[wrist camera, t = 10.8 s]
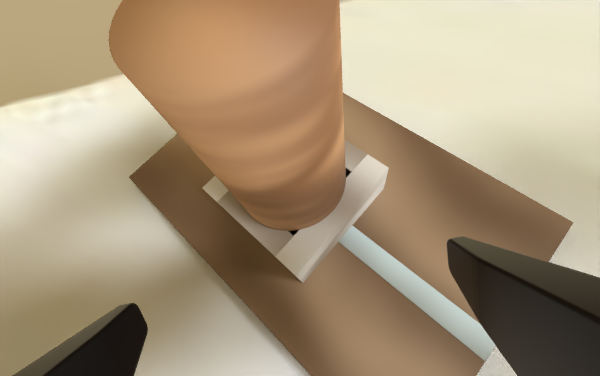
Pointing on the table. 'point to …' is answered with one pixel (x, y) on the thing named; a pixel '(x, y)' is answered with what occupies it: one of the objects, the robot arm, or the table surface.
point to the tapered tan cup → (247, 95)
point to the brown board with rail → (360, 251)
